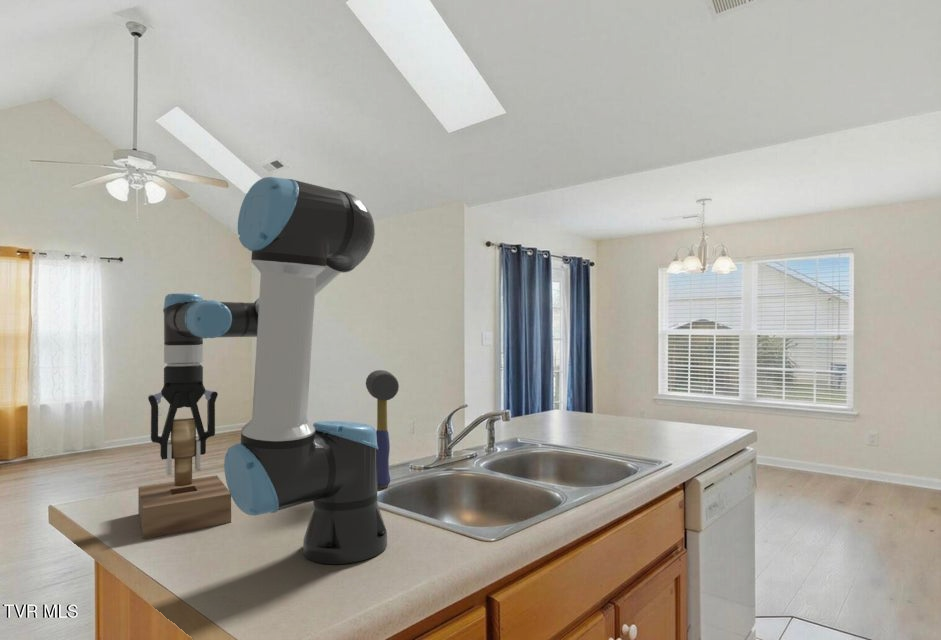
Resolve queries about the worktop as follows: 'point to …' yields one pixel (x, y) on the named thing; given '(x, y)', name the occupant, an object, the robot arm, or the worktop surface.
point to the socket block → (183, 506)
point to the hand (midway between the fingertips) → (183, 471)
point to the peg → (183, 449)
